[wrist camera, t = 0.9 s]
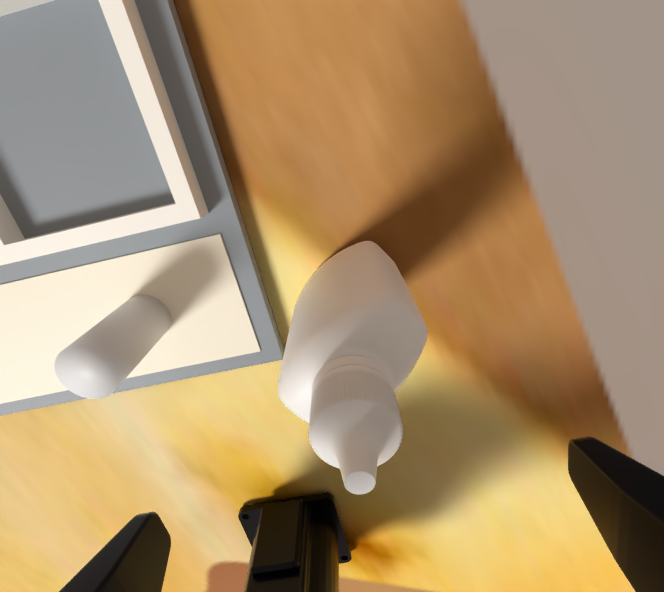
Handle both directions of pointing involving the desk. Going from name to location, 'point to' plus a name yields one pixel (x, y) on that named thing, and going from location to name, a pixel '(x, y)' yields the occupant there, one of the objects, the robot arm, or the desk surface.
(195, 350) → the board
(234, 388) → the desk surface
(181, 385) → the desk surface
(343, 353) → the white bottle
